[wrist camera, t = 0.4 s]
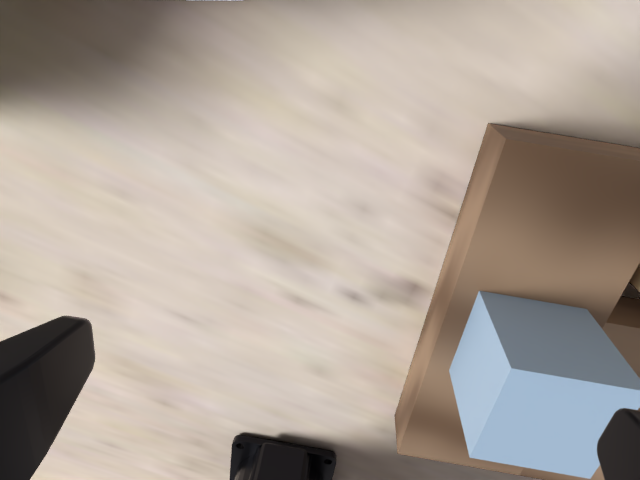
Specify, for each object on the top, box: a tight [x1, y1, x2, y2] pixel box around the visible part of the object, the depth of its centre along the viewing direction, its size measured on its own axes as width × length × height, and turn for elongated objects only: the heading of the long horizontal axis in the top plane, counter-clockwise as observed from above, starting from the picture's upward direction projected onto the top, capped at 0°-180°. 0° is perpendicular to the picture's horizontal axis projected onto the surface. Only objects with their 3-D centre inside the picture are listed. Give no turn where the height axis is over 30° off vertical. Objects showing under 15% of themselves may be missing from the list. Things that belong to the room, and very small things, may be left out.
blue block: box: [449, 291, 640, 479], centre depth 17 cm, size 4×4×4 cm
